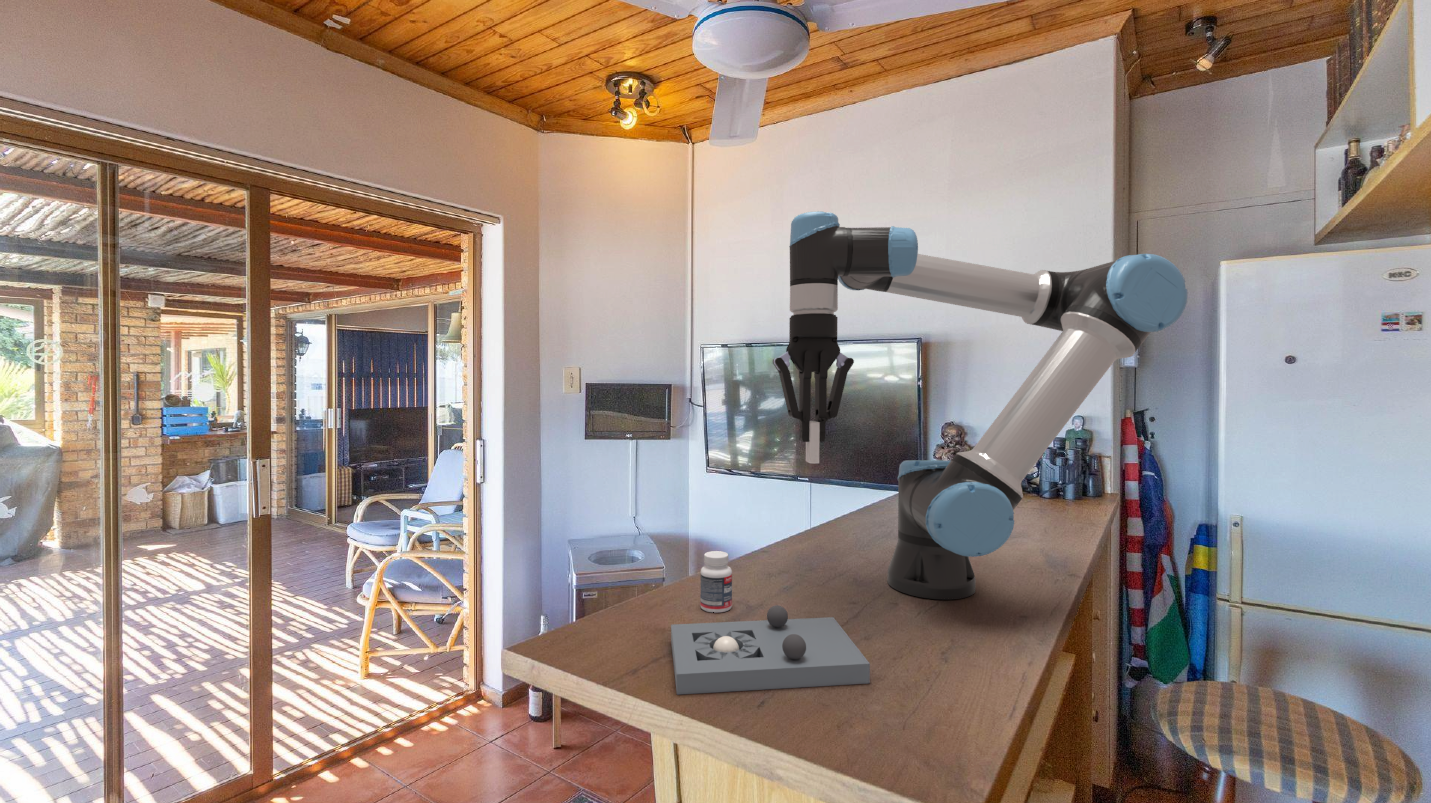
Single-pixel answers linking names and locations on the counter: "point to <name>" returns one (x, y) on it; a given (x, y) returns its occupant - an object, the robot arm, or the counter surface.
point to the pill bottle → (716, 583)
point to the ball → (726, 644)
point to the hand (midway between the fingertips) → (812, 462)
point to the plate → (764, 656)
